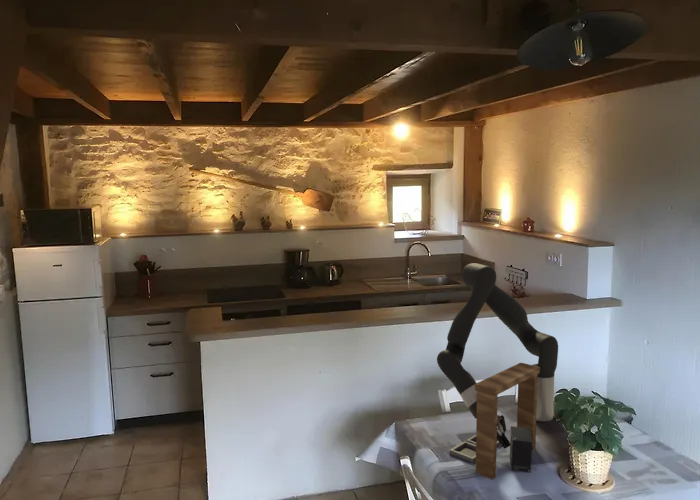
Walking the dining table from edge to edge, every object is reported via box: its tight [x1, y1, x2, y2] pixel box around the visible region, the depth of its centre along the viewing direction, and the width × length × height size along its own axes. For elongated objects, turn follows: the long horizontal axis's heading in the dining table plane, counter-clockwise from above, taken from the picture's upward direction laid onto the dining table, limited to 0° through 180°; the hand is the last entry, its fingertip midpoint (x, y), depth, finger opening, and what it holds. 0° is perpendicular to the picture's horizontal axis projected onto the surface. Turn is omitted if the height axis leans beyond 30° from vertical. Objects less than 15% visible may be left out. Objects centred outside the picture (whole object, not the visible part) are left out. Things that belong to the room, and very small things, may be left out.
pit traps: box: [449, 434, 502, 464], centre depth 192 cm, size 19×9×2 cm, turn 135°
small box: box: [509, 425, 533, 473], centre depth 180 cm, size 11×6×10 cm, turn 167°
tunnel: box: [475, 362, 540, 480], centre depth 182 cm, size 29×7×29 cm, turn 135°
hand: (507, 446), depth 183 cm, fingers closed
